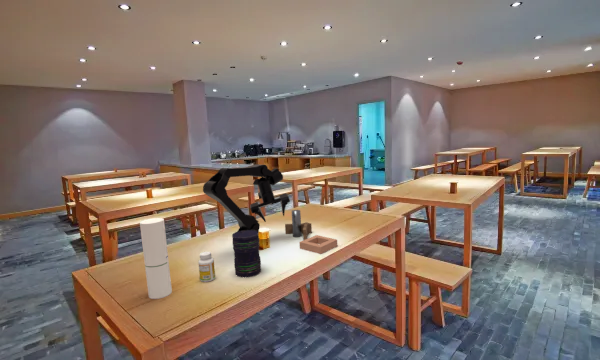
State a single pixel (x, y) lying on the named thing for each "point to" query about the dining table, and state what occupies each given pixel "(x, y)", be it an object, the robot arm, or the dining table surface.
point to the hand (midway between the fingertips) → (274, 218)
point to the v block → (305, 229)
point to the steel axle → (296, 223)
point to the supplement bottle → (206, 267)
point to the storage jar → (246, 253)
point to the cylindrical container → (156, 257)
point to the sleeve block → (318, 244)
